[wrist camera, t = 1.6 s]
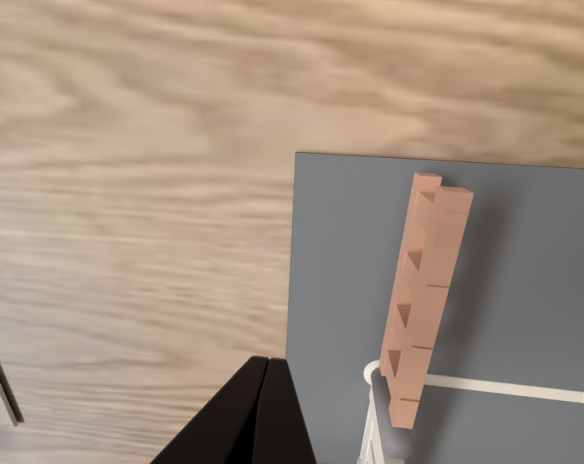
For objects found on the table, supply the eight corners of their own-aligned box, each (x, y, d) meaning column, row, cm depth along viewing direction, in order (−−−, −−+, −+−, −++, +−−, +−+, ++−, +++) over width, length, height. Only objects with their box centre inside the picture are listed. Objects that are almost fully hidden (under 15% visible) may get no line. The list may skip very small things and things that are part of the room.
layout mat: (597, 497, 21) (601, 503, 21) (281, 453, 23) (281, 458, 22) (801, 180, 13) (813, 182, 13) (296, 152, 15) (295, 152, 15)
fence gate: (392, 386, 19) (410, 460, 15) (369, 383, 19) (380, 456, 15) (437, 172, 14) (483, 194, 10) (406, 170, 14) (439, 191, 10)
